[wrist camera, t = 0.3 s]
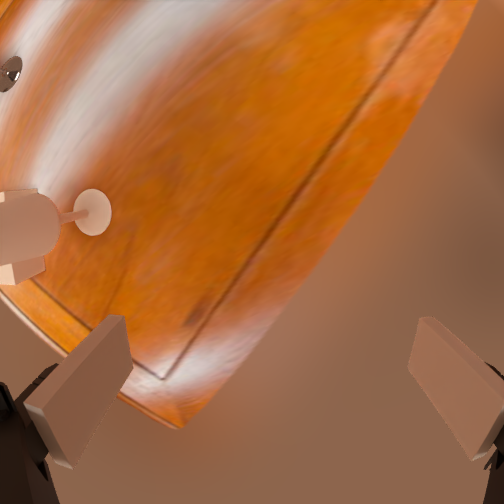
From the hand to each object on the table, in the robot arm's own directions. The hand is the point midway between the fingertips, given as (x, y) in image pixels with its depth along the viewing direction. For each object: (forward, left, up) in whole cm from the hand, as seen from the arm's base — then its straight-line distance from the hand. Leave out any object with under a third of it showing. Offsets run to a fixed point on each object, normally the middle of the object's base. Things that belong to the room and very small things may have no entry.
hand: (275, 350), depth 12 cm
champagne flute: (-4, -24, -28) cm, 37 cm away
